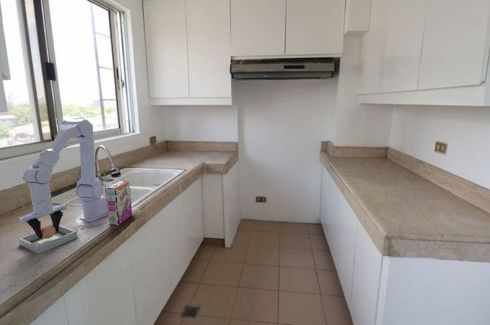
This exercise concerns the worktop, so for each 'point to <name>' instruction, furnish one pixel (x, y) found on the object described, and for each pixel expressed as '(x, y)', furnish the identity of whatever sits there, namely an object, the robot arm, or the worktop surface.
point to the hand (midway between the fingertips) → (48, 233)
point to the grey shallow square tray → (47, 240)
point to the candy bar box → (118, 202)
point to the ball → (48, 231)
